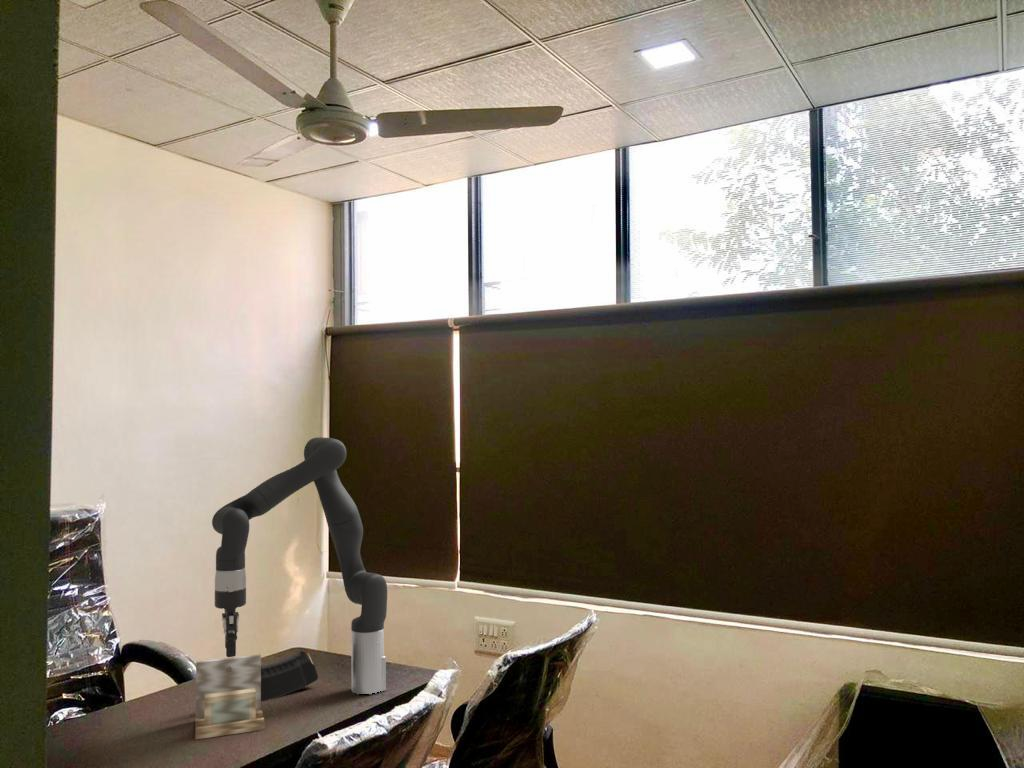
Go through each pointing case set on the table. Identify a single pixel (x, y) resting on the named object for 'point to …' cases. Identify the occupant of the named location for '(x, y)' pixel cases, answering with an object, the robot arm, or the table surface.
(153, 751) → the table surface
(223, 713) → the frame
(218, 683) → the marble tile stand
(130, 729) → the table surface
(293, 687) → the magazine
